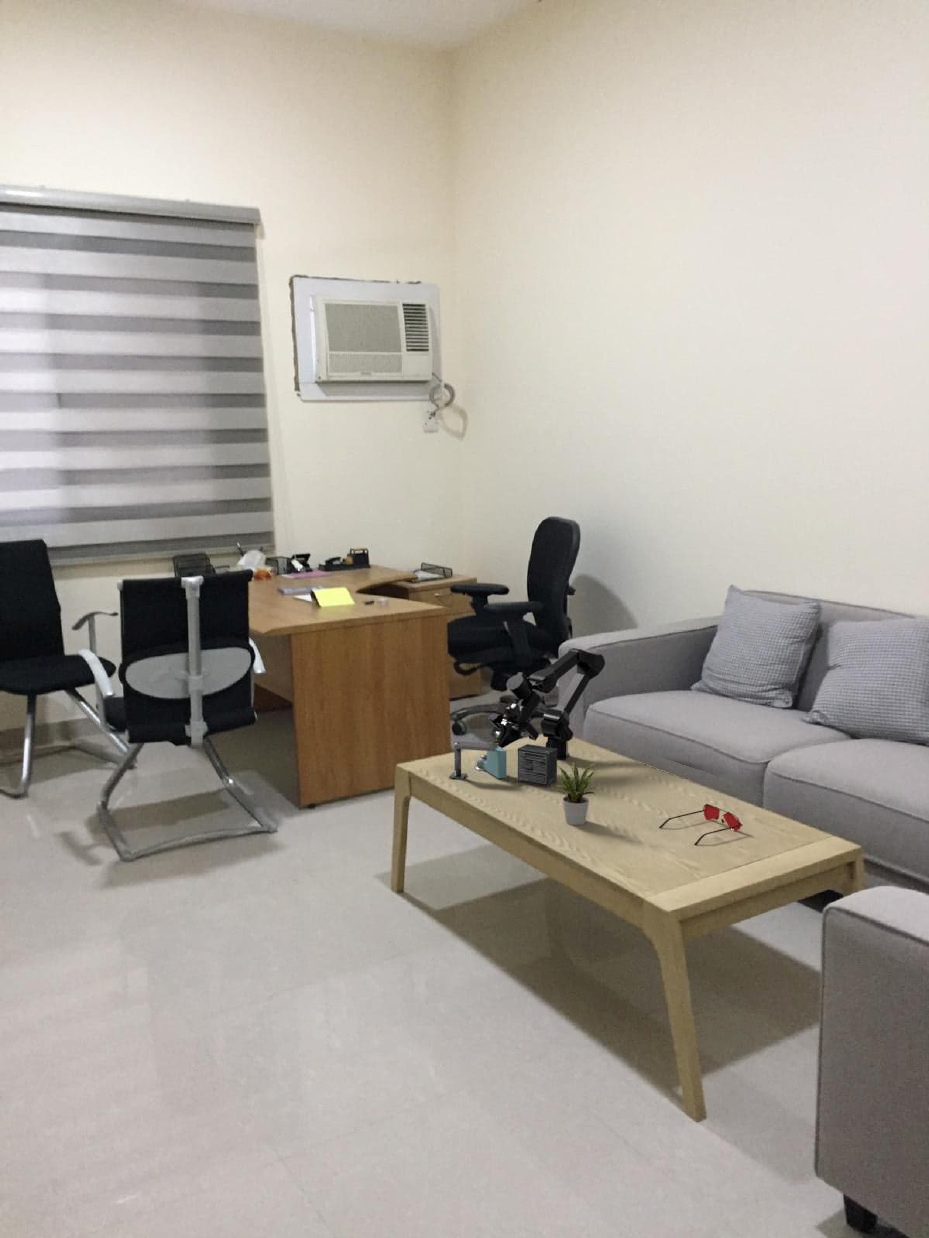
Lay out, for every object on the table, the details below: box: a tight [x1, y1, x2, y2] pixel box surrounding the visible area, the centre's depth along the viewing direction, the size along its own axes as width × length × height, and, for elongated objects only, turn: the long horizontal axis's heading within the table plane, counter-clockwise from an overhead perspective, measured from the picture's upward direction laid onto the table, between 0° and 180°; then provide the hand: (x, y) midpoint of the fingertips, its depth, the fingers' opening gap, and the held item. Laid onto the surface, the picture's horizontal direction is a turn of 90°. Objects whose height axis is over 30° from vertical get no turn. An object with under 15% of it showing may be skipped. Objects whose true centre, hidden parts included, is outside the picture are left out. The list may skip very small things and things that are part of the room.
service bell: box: [473, 754, 487, 771], centre depth 316 cm, size 7×7×4 cm
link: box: [476, 746, 507, 779], centre depth 311 cm, size 15×5×8 cm, turn 24°
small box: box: [517, 743, 558, 788], centre depth 301 cm, size 11×6×10 cm, turn 58°
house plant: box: [554, 761, 604, 826], centre depth 267 cm, size 14×14×16 cm
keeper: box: [448, 740, 498, 780], centre depth 305 cm, size 14×5×11 cm, turn 74°
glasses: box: [658, 803, 743, 846], centre depth 261 cm, size 14×16×5 cm
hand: (498, 748), depth 309 cm, fingers closed
